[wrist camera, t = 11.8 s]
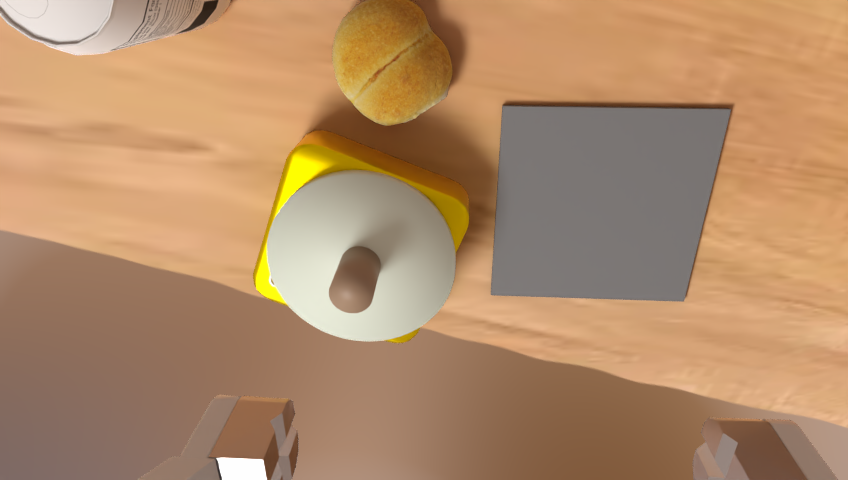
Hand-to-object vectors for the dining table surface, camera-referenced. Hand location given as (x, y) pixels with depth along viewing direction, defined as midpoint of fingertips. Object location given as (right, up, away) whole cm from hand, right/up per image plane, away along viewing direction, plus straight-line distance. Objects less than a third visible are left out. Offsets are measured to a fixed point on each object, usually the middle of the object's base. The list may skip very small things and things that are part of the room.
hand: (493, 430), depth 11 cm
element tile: (-7, +5, +38) cm, 39 cm away
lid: (-6, +2, +34) cm, 34 cm away
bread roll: (-4, +17, +31) cm, 36 cm away
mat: (+13, +6, +35) cm, 38 cm away
